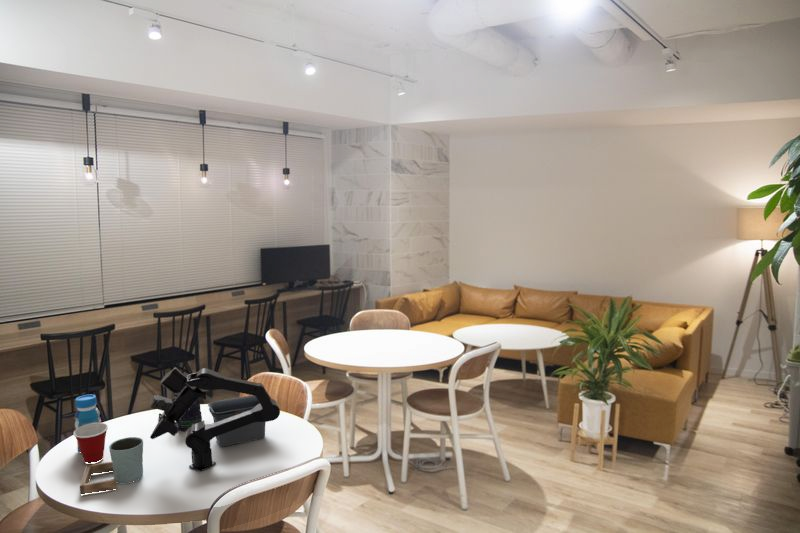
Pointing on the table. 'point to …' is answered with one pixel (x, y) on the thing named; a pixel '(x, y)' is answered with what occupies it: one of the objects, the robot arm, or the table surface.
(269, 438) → the table surface
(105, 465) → the walnut bay
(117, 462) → the green plant pot
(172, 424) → the robot arm
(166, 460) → the table surface
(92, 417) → the beverage bottle
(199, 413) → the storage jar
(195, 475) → the table surface
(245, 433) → the storage bin
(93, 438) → the plastic cup
